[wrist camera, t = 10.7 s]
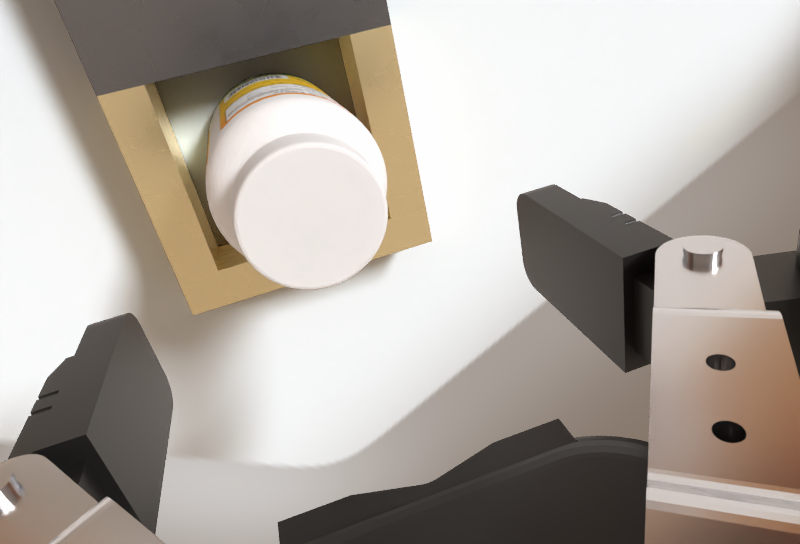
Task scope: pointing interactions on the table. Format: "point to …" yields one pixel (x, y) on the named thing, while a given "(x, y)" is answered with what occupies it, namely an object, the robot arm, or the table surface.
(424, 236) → the rail
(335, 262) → the supplement bottle
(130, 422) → the robot arm
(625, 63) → the table surface
